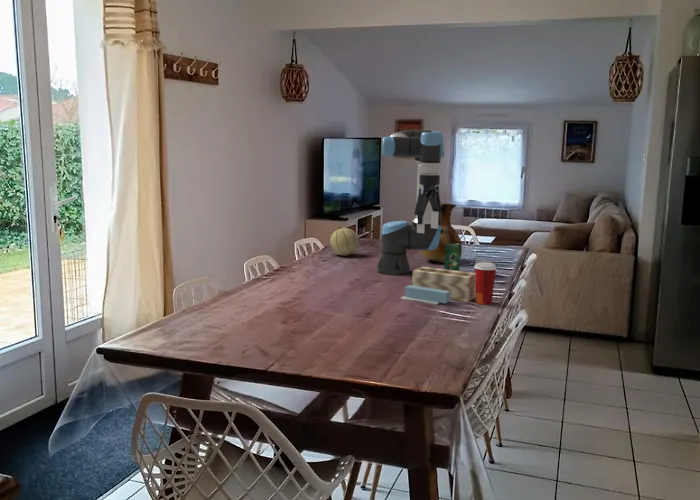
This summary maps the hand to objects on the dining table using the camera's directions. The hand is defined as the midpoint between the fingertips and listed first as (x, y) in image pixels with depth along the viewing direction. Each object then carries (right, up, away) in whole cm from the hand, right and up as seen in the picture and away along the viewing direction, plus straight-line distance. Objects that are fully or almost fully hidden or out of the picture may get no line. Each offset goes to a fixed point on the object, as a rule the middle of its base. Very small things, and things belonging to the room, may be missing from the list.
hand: (427, 230), depth 246 cm
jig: (+8, -25, +12) cm, 29 cm away
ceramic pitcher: (+17, -13, +81) cm, 84 cm away
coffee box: (+18, -18, +57) cm, 63 cm away
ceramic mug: (+33, -19, +51) cm, 64 cm away
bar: (0, -26, +4) cm, 27 cm away
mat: (-1, -27, +5) cm, 27 cm away
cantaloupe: (-32, -10, +93) cm, 99 cm away
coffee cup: (+22, -28, +2) cm, 35 cm away
